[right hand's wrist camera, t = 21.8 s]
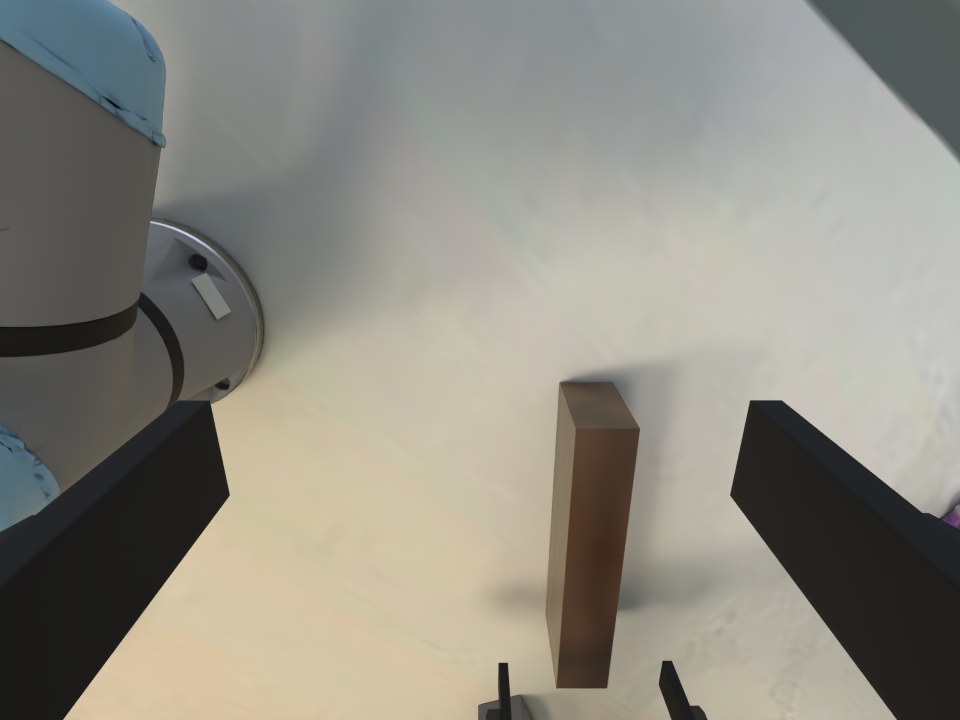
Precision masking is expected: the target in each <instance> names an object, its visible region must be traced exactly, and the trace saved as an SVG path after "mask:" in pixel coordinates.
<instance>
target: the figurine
mask: <svg viewBox="0 0 960 720" xmlns="http://www.w3.org/2000/svg"><path fill="white" fill-rule="evenodd" d="M942 520H943V521H944V522H946V523H948V524H950V525H952V526H954V527H956V528H958V529H960V504H959V505H957V506H956V507H955V508H954V509H953V510H952V511H951V512H950V513H949V514H948V515H947V516H946V517H944V518H943V519H942Z"/></svg>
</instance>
